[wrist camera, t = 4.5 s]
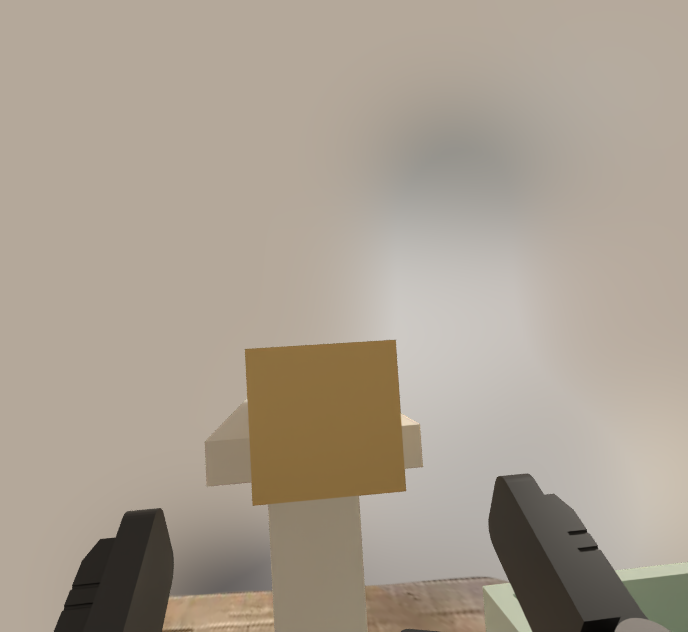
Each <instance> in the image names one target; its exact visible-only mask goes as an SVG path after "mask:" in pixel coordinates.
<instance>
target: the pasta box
mask: <svg viewBox="0 0 688 632" xmlns="http://www.w3.org/2000/svg"><path fill="white" fill-rule="evenodd" d="M245 360H246V377H247V378H246V379H247V400H248V421H249V441H250V461H251V481H252V501H253V506H255V505H266V504H276V503H287V502H297V501H308V500H318V499H329V498H340V497H350V496H361V495H371V494H382V493H392V492H402V491H406V484H405V468H404V453H403V439H402V424H401V411H400V395H399V382H398V366H397V353H396V340H384V341H368V342H352V343H336V344H320V345H305V346H304V345H303V346H287V347H271V348H256V349H245Z"/></svg>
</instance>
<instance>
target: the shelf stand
mask: <svg viewBox="0 0 688 632" xmlns="http://www.w3.org/2000/svg"><path fill="white" fill-rule="evenodd" d="M401 424H402V439H403V453H404V468H405V469H406V468H418V467H423V462H422V447H421V434H420V424H418V423H417V422H415V421H413V420H412V419H410V418H408V417H407V416H405V415H403V414H402V413H401ZM205 457H206V478H207V479H206V481H207V486H218V485H230V484H240V483H252V481H251V461H250V441H249V421H248V400H247V399H246V400H245V401H244V402H243V403H242V404H241V405H240V406H239V407H238V408H237V409H236V410H235V411H234V412H233V414H231V415H230V416H229V418H228V419H227V420H226V421H225V422H224V423H223V424H222V425H221V426H220V427H219V428H218V429H217V430H216V431H215V432H214V433H213V434H212V435H211V436H210V437H209V438H208V439H207V440H206V441H205ZM268 510H269V530H270V549H271V570H272V589H273V608H274V628H275V632H368V631H367V616H366V600H365V584H364V568H363V552H362V538H361V537H362V536H361V520H360V506H359V496H350V497H340V498H329V499H318V500H308V501H297V502H287V503H276V504H268Z"/></svg>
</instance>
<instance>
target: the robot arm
mask: <svg viewBox="0 0 688 632" xmlns="http://www.w3.org/2000/svg"><path fill="white" fill-rule="evenodd" d="M489 533H490V538H491V541H492V544H493V546H494V549H495V551H496V553H497V555H498V558H499V560H500V562H501V564H502V566H503V569H504V571H505V573H506V575H507V577H508V580H509V582H510V584H511V586H512V588H513V591H514V593H515V595H516V597H517V599H518V602H519V604H520V606H521V608H522V610H523V613H524V615H525V617H526V619H527V621H528V624H529V626H530V628H531V630H532V632H671V631H670V630H668V629H667V628H665V627H664V626H662V625H660V624H658V623H656V622H653V621H650V620H649V619H648V618H647V617H646V616H645V614H644V613H643V612H642V610H641V609H640V607H639V606H638V604H637V603H636V602H635V600H634V599H633V597H632V596H631V594H630V593H629V591H628V590H627V588H626V587H625V585H624V584H623V582H622V581H621V579H620V578H619V576H618V575H617V573H616V572H615V570H614V569H613V568H612V566H611V565H610V563H609V562H608V560H607V559H606V557H605V556H604V554H603V553H602V551H601V550H598V545H597V544H596V543H595V541H594V540H593V538H592V536H591V535H590V534H589V533H587V529H586V528H585V526H584V525H583V523H582V522H581V520H580V519H579V517H578V516H577V514H576V513H575V511H574V510H573V509H572V508H571V507H569V506H568V505H567V504H566V503H565V502H563V501H562V500H561V499H560V498H559V497H557V496H556V495H555V494H547V495H544V494H543V492H542V491H541V489H540V488H539V486H538V484H537V483H536V481H535V480H534V478H533V477H532V476H531V475H530V474H518V475H508V476H499V477H497V479H496V481H495V486H494V492H493V497H492V503H491V509H490V514H489ZM173 569H174V558H173V551H172V546H171V543H170V538H169V534H168V530H167V525H166V522H165V517H164V513H163V510H162V509H161V508H157V509H147V510H137V511H128V512H126V513H125V514H124V516H123V518H122V521H121V524H120V527H119V530H118V532H117V536H116V538H107V539H100V540H99V541H98V543H97V544H96V545H95V546H94V547H93V548H92V550H91V551H90V552H89V553H88V554H87V556H86V557H85V558H84V559H83V560H82V562H81V565H80V568H79V570H78V572H77V575H76V577H75V580H74V582H73V585H72V590H70V592H69V595H68V597H67V600H66V602H65V605H64V611H62V612H61V615H60V617H59V620H58V622H57V625H56V628H55V630H54V632H162V628H163V623H164V618H165V614H166V609H167V604H168V599H169V593H170V589H171V585H172V579H173Z"/></svg>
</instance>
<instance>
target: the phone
mask: <svg viewBox="0 0 688 632" xmlns="http://www.w3.org/2000/svg"><path fill="white" fill-rule="evenodd" d="M401 632H438V631H427V630H415V629H405V630H402V631H401Z"/></svg>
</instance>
